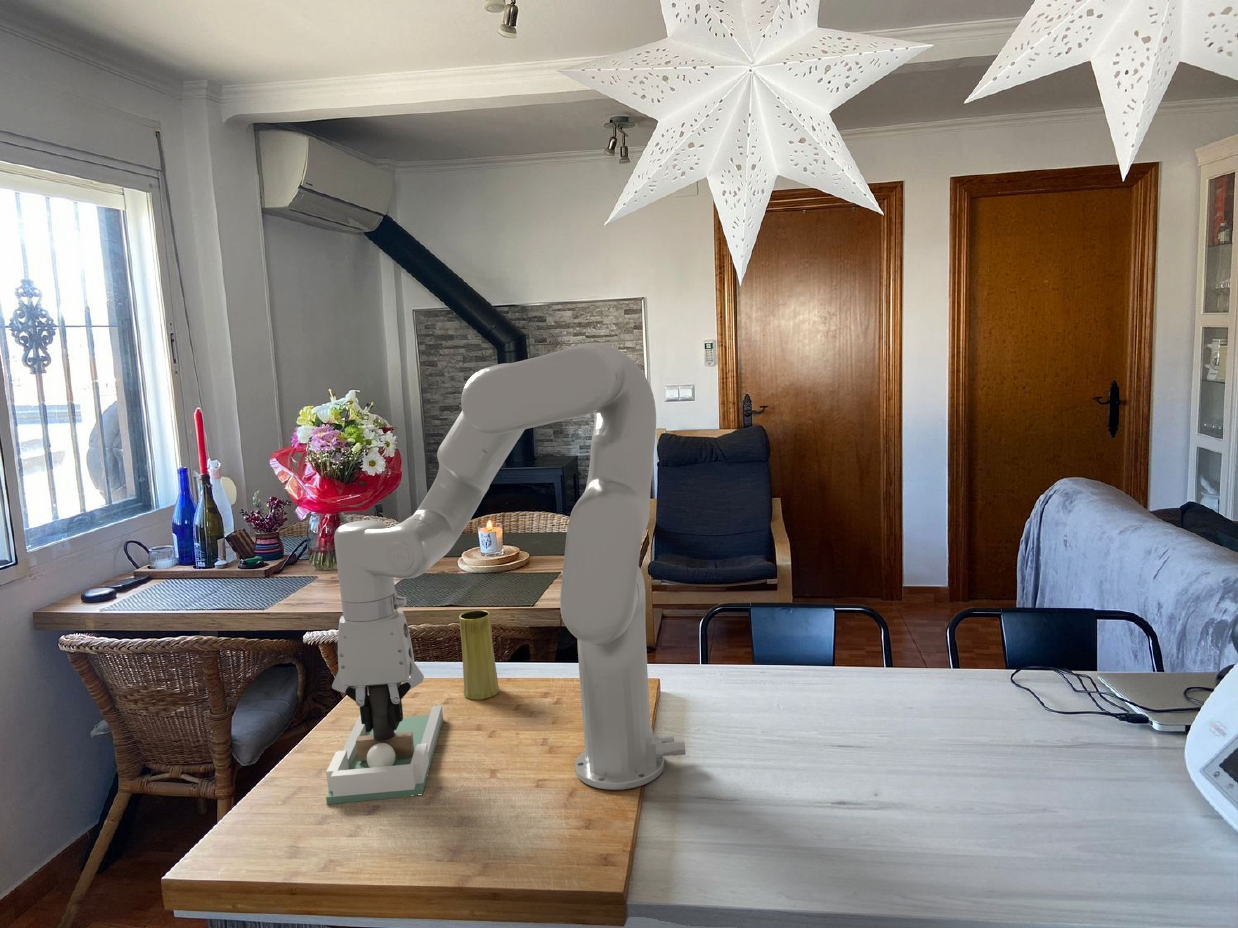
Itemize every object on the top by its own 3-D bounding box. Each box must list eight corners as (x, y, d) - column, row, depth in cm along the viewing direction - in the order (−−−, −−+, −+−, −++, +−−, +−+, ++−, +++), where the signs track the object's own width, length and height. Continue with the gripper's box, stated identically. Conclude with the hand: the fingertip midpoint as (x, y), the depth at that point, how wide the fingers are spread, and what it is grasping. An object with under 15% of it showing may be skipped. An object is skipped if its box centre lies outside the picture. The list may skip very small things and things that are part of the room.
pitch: (443, 719, 152) (440, 696, 151) (422, 795, 128) (419, 768, 128) (362, 726, 151) (359, 703, 151) (326, 803, 128) (323, 776, 127)
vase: (506, 691, 162) (499, 612, 159) (478, 703, 157) (471, 622, 155) (484, 683, 166) (477, 606, 163) (456, 694, 161) (449, 616, 159)
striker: (415, 749, 139) (407, 678, 137) (412, 758, 136) (404, 686, 134) (361, 753, 139) (352, 682, 137) (357, 763, 136) (348, 691, 134)
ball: (391, 762, 131) (396, 775, 134) (393, 736, 134) (398, 749, 137) (362, 764, 131) (368, 778, 134) (365, 738, 134) (371, 752, 136)
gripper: (431, 595, 137) (443, 711, 140) (319, 602, 137) (334, 719, 140) (422, 611, 130) (435, 734, 133) (304, 619, 130) (320, 742, 133)
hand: (383, 725), depth 137 cm, fingers closed on striker, 3 cm apart
